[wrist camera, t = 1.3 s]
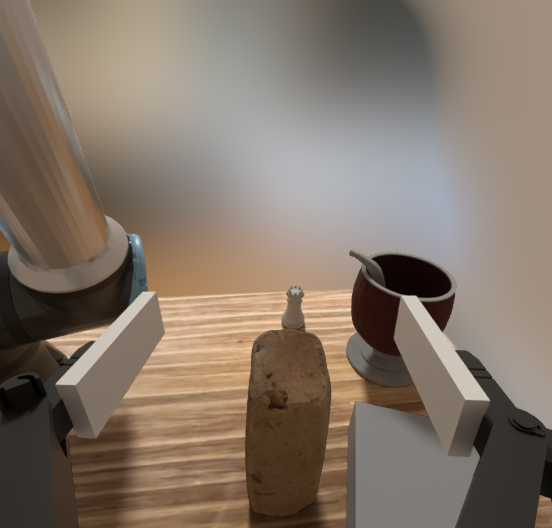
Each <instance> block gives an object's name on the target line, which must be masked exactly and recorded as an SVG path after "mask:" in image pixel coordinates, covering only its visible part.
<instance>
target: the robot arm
mask: <svg viewBox="0 0 552 528" xmlns="http://www.w3.org/2000/svg"><path fill="white" fill-rule="evenodd" d="M0 230H1V231H2V232H3V234H4V235H5V236H6V238H7V239H8V240H9V241H10V243H11V244H12V245H11V248H10V250H9V251H0V528H79V525H78V517H77V508H76V500H75V491H74V483H73V474H72V466H71V457H70V449H69V441H68V439H67V437H66V436H67V434H68V433H69V432H70V430H71V429H72V428H74V430H75V433H76V435H77V438H97V437H98V435H99V434H100V432H101V430H102V429H103V427H104V426H105V424H106V423H107V421H108V420H109V418H110V417H111V415H112V414H113V412H114V410H115V409H116V407H117V406H118V404H119V403H120V401H121V400H122V398H123V397H124V395H125V394H126V392H127V390H128V389H129V387H130V386H131V384H132V383H133V381H134V380H135V378H136V377H137V375H138V374H139V372H140V370H141V369H142V367H143V366H144V364H145V363H146V361H147V360H148V358H149V357H150V355H151V354H152V352H153V350H154V349H155V347H156V346H157V344H158V343H159V341H160V340H161V338H162V337H163V335H164V334H165V331H164V326H163V322H162V317H161V312H160V307H159V302H158V298H157V293H156V292H148V285H147V281H146V279H147V276H146V264H145V257H144V251H143V246H142V242H141V238H140V237H139V236H138V235H136V234H129V233H125V231H124V230H123V228H122V227H121V226H120V225H119V224H118V223H117V222H116V221H115V220H113V219H111V218H109V217H107V216H105V215H104V212H103V209H102V206H101V203H100V201H99V198H98V195H97V192H96V189H95V187H94V184H93V181H92V178H91V175H90V172H89V169H88V166H87V164H86V161H85V158H84V155H83V153H82V150H81V147H80V144H79V141H78V138H77V135H76V132H75V130H74V127H73V124H72V121H71V118H70V116H69V112H68V110H67V107H66V104H65V101H64V98H63V96H62V93H61V90H60V87H59V84H58V81H57V78H56V76H55V73H54V70H53V67H52V64H51V62H50V59H49V56H48V53H47V50H46V47H45V44H44V41H43V39H42V36H41V33H40V30H39V27H38V24H37V22H36V19H35V16H34V13H33V10H32V8H31V4H30V2H29V0H0ZM108 325H111V326H110V327H109V328H108V329H107V330H106V331H105V332H104V333H103V334H102V335H101V336H100V337H99V338H98V340H97V341H90V342H88V343H87V344H85V345H84V346H82V347H80V348H79V349H78V350H77V351H76V352H75V353H74V354H73V355H72V356H71V357H70V359H68V358H67V357H66V355H65V354H63V353H62V352H61V351H60V350H58V349H57V348H56V347H54V346H53V345H52V344H50V343H49V342H48V341H46V340H47V339H52V338H56V337H60V336H65V335H69V334H73V333H78V332H82V331H86V330H91V329H95V328H100V327H104V326H108ZM394 340H395V342H396V345H397V347H398V349H399V351H400V353H401V356H402V358H403V360H404V362H405V364H406V367H407V369H408V371H409V373H410V375H411V378H412V380H413V382H414V384H415V386H416V389H417V391H418V393H419V395H420V397H421V399H422V402H423V404H424V406H425V408H426V410H427V413H428V415H429V417H430V419H431V421H432V424H433V426H434V428H435V430H436V432H437V435H438V437H439V439H440V441H441V443H442V446H443V448H444V450H445V452H446V454H447V456H459V457H470V454H471V452H472V449H473V446H474V447H475V449H476V451H477V452H478V454H479V456H480V459H479V461H478V464H477V467H476V469H475V472H474V474H473V478H472V481H471V484H470V487H469V489H468V492H467V495H466V498H465V501H464V504H463V506H462V509H461V512H460V515H459V518H458V520H457V523H456V526H455V528H534V526H535V520H536V514H537V508H538V501H539V495H542V496H545V497H547V498H550V499H551V501H552V430H550V429H547V428H546V427H545V426H544V425H543V423H542V422H540V421H539V420H538V419H537V418H536V417H535V416H533V415H531V414H530V413H528V412H526V411H523V410H521V409H518V408H516V407H515V406H514V404H513V403H512V402H511V400H510V399H509V398H508V397H507V395H506V394H505V393H504V392H503V390H502V389H501V388H500V387H499V385H498V384H497V383H496V381H495V380H494V379H492V376H491V375H490V374H489V372H488V371H486V369H485V367H484V366H483V365H482V363H481V362H480V361H479V360H478V359H477V358H476V357H475V356H473V355H472V354H471V353H469V352H468V351H462V350H454V349H453V347H452V346H451V344H450V343H449V341H448V340H447V339H446V337H445V336H444V334H443V333H442V332H441V330H440V329H439V327H438V326H437V325H436V323H435V322H434V320H433V319H432V317H431V316H430V315H429V313H428V312H427V310H426V309H425V308H424V306H423V305H422V303H421V302H420V300H419V299H418V298H417V296H401V299H400V305H399V311H398V316H397V322H396V328H395V334H394Z"/></svg>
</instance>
